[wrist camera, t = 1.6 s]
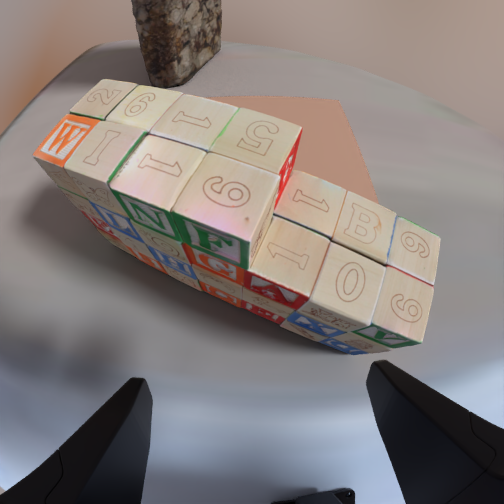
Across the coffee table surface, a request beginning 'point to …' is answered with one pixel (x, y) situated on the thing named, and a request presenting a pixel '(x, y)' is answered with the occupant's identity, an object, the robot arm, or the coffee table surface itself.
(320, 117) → the mat
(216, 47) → the stone block
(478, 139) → the coffee table surface
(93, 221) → the stack of blocks
